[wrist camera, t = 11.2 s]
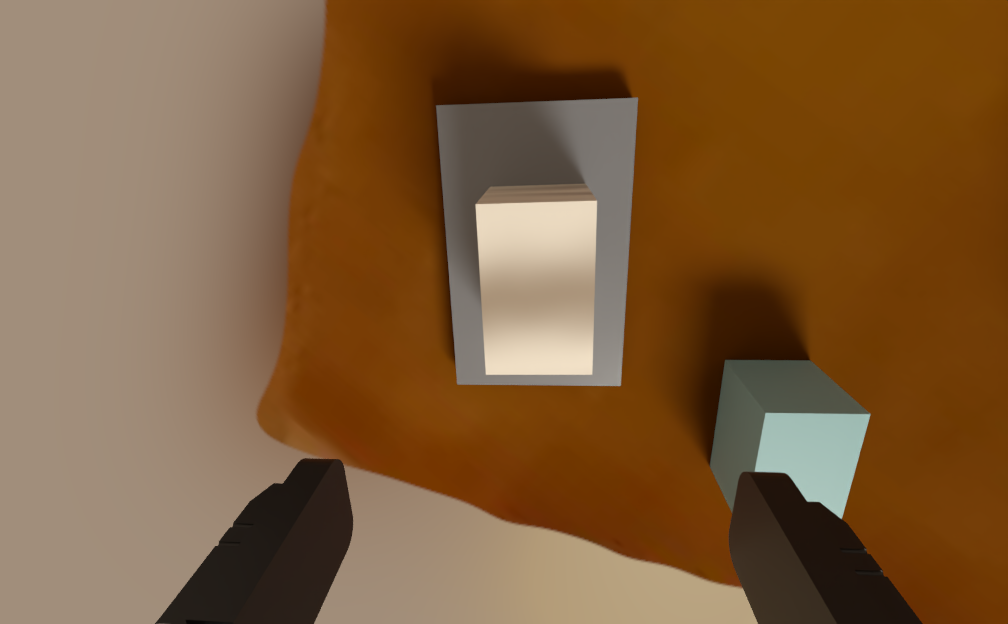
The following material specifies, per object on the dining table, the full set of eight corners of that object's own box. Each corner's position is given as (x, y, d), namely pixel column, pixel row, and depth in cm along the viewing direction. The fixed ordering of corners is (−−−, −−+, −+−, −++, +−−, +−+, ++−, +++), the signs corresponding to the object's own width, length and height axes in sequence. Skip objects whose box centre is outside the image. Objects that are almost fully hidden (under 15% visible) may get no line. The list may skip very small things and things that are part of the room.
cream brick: (490, 186, 26) (475, 204, 20) (585, 183, 26) (597, 200, 20) (497, 325, 29) (485, 374, 23) (582, 325, 28) (592, 374, 23)
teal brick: (724, 359, 30) (765, 413, 25) (809, 359, 30) (870, 414, 24) (709, 465, 33) (742, 535, 28) (786, 467, 33) (836, 538, 27)
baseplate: (441, 106, 26) (436, 105, 25) (632, 99, 25) (638, 97, 24) (461, 372, 32) (457, 384, 30) (617, 374, 31) (620, 385, 30)
